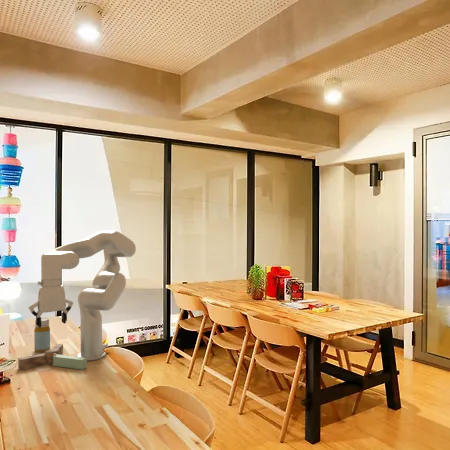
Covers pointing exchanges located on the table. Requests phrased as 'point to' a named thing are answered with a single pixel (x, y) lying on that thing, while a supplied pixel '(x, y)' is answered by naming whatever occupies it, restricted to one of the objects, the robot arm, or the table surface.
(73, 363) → the hinged leg
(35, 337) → the bottle
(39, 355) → the brown angled wooden piece
